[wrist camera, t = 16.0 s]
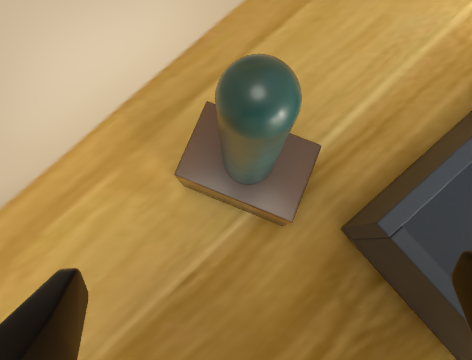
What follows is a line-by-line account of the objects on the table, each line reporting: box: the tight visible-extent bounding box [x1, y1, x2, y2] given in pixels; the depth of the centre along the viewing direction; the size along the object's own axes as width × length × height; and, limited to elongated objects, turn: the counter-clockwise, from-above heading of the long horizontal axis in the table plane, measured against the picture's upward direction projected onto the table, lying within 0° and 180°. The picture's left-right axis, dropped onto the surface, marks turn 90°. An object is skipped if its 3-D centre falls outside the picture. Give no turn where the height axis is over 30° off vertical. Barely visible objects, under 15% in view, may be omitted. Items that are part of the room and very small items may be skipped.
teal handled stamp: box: [174, 54, 321, 226], centre depth 15 cm, size 6×4×12 cm, turn 68°
